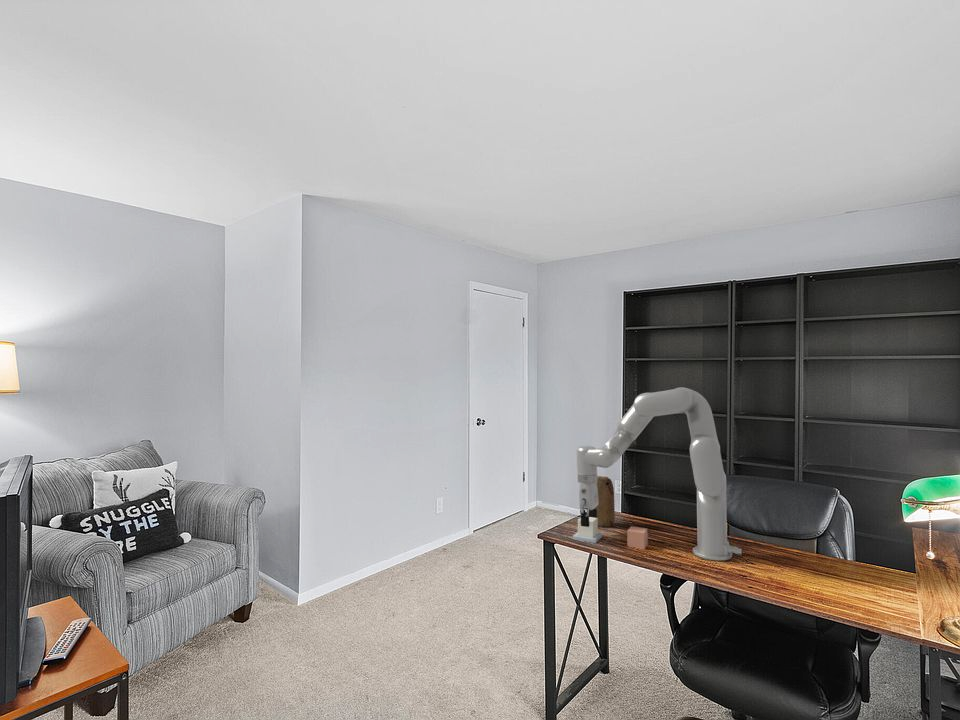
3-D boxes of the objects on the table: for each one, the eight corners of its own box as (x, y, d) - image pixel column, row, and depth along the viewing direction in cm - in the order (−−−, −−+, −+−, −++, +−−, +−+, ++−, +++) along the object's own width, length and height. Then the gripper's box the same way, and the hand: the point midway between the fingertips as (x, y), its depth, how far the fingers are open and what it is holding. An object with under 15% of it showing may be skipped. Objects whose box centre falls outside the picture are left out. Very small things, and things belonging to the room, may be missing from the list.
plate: (602, 536, 202) (602, 533, 202) (595, 543, 194) (595, 539, 194) (580, 532, 206) (580, 529, 206) (572, 539, 198) (572, 536, 198)
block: (586, 525, 216) (586, 477, 216) (591, 520, 222) (590, 474, 223) (612, 529, 211) (612, 479, 211) (616, 524, 217) (616, 476, 218)
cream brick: (597, 533, 201) (597, 518, 201) (592, 537, 196) (592, 522, 196) (582, 531, 204) (582, 515, 204) (577, 535, 199) (577, 519, 199)
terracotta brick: (647, 544, 192) (647, 528, 192) (644, 549, 187) (644, 533, 187) (631, 542, 195) (631, 526, 195) (627, 547, 189) (627, 530, 190)
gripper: (590, 483, 191) (591, 530, 190) (603, 475, 206) (604, 518, 205) (570, 482, 195) (572, 527, 194) (585, 473, 210) (586, 516, 209)
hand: (589, 522), depth 200 cm, fingers open, 9 cm apart
